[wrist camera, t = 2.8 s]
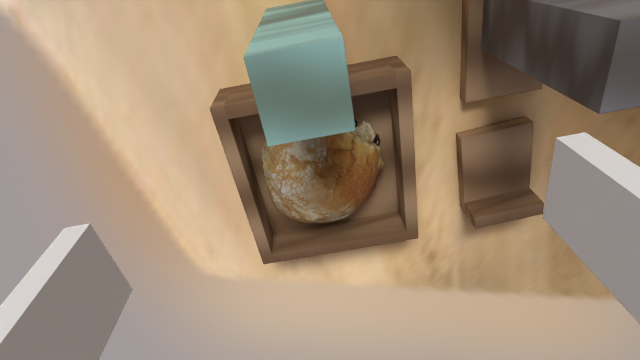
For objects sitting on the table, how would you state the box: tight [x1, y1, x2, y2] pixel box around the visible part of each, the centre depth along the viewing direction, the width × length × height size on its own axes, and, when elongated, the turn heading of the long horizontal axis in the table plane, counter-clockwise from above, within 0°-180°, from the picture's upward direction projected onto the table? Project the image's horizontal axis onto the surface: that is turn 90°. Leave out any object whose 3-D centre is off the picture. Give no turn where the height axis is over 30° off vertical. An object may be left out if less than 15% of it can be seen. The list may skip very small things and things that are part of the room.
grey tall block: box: [460, 0, 640, 114], centre depth 23 cm, size 8×6×14 cm
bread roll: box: [261, 119, 385, 223], centre depth 31 cm, size 10×10×8 cm
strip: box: [456, 117, 544, 229], centre depth 33 cm, size 8×6×4 cm
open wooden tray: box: [210, 0, 418, 264], centre depth 26 cm, size 20×14×14 cm
